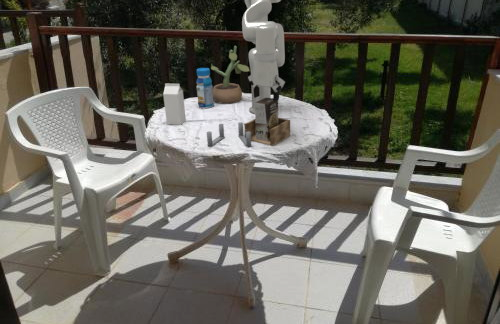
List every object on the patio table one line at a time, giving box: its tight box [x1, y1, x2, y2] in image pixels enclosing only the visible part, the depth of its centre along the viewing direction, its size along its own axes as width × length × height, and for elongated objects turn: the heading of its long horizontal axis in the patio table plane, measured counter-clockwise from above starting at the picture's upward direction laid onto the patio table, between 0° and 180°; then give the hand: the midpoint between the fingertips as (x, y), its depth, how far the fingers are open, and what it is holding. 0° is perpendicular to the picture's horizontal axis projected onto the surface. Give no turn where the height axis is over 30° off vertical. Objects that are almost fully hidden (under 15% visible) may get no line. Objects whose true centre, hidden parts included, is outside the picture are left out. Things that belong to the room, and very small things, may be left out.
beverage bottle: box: [195, 67, 215, 109], centre depth 223 cm, size 8×8×20 cm
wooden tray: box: [243, 117, 291, 147], centre depth 181 cm, size 14×14×7 cm
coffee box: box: [254, 97, 279, 141], centre depth 179 cm, size 9×6×16 cm
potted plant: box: [210, 45, 251, 104], centre depth 229 cm, size 22×18×30 cm
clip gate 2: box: [237, 121, 252, 148], centre depth 179 cm, size 2×14×6 cm, turn 17°
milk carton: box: [162, 83, 187, 126], centre depth 201 cm, size 7×7×19 cm
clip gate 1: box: [206, 123, 225, 148], centre depth 179 cm, size 12×2×6 cm, turn 155°
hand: (266, 98), depth 176 cm, fingers open, 9 cm apart
